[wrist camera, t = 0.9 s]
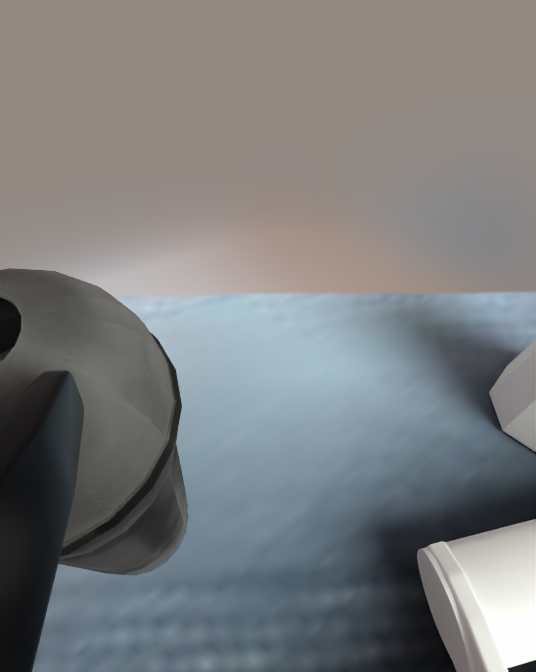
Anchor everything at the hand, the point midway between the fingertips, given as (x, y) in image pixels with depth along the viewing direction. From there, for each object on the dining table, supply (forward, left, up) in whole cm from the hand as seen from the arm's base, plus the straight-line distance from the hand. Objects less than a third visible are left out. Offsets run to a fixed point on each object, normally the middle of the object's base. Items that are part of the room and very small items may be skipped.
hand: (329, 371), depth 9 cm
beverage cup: (+3, +6, -16) cm, 18 cm away
